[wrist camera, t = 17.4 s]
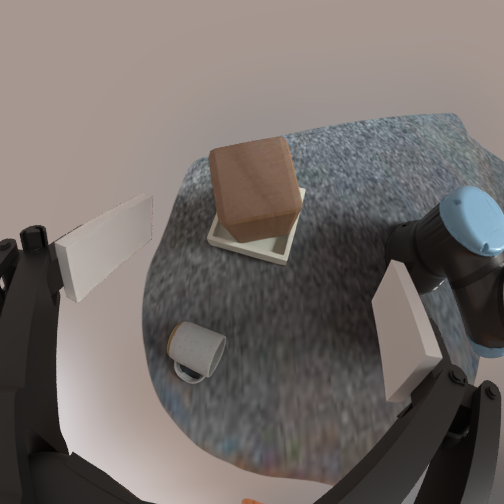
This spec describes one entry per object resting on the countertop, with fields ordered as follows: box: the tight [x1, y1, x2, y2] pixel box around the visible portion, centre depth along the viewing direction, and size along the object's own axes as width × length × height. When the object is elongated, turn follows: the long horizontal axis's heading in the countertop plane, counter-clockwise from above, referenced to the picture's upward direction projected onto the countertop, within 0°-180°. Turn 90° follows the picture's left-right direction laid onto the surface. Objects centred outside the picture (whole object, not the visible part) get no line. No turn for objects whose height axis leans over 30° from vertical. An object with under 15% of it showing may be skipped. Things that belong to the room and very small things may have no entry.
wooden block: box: [209, 137, 302, 243], centre depth 41 cm, size 10×10×20 cm
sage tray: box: [207, 188, 306, 266], centre depth 51 cm, size 15×15×4 cm
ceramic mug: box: [167, 321, 226, 384], centre depth 42 cm, size 11×8×8 cm
